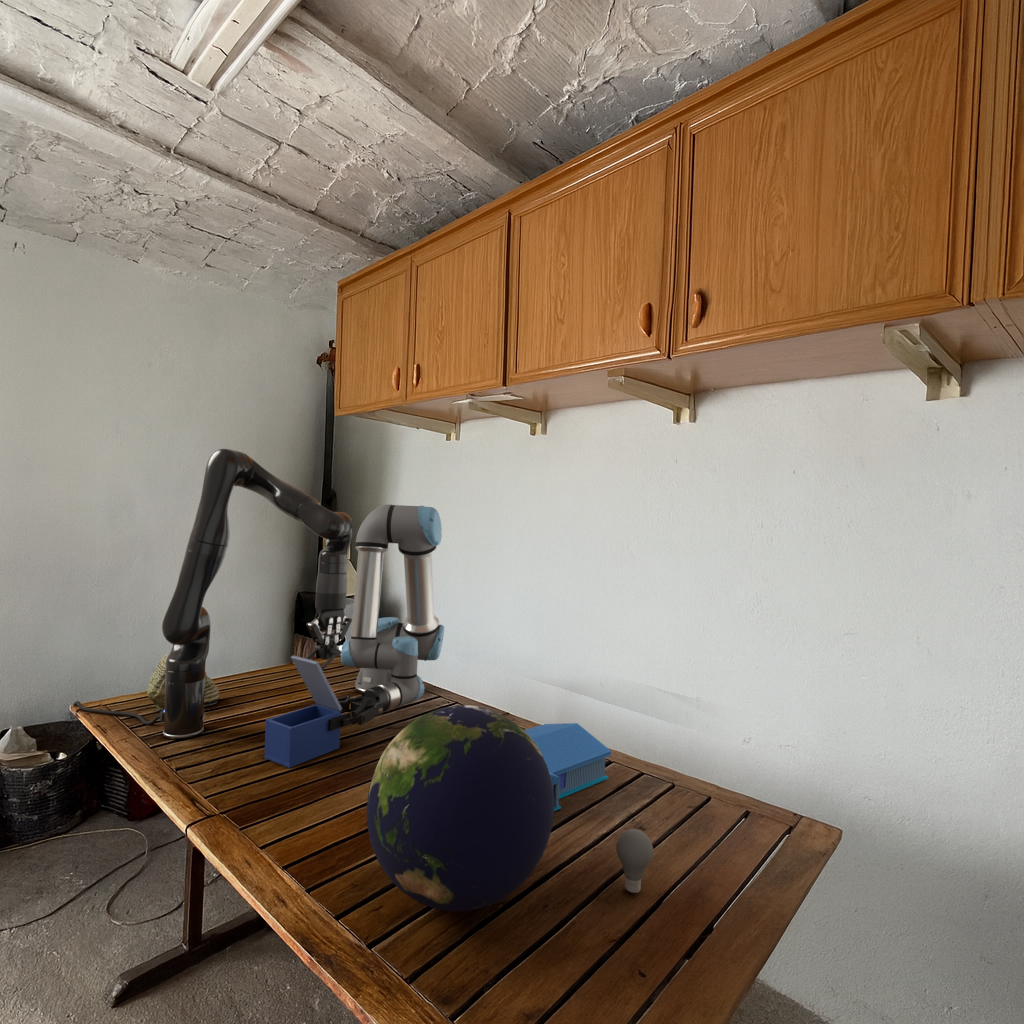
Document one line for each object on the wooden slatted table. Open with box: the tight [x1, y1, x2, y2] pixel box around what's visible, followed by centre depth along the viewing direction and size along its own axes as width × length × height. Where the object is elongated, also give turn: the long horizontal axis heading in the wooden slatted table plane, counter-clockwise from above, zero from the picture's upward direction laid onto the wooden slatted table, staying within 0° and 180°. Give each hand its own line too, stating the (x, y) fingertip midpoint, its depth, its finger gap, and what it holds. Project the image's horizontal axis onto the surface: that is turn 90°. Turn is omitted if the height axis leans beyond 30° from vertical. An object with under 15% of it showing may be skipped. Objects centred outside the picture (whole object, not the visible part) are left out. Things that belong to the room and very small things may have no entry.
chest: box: [263, 703, 342, 769], centre depth 156 cm, size 15×9×9 cm, turn 147°
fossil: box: [147, 654, 221, 712], centre depth 185 cm, size 9×18×15 cm, turn 132°
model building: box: [523, 722, 612, 812], centre depth 142 cm, size 39×24×10 cm, turn 132°
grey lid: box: [290, 644, 342, 712], centre depth 161 cm, size 16×9×8 cm
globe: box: [366, 704, 555, 913], centre depth 102 cm, size 30×30×30 cm
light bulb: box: [615, 828, 654, 894], centre depth 106 cm, size 6×6×10 cm
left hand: (327, 657), depth 161 cm, fingers closed
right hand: (316, 720), depth 159 cm, fingers closed on chest, 9 cm apart
